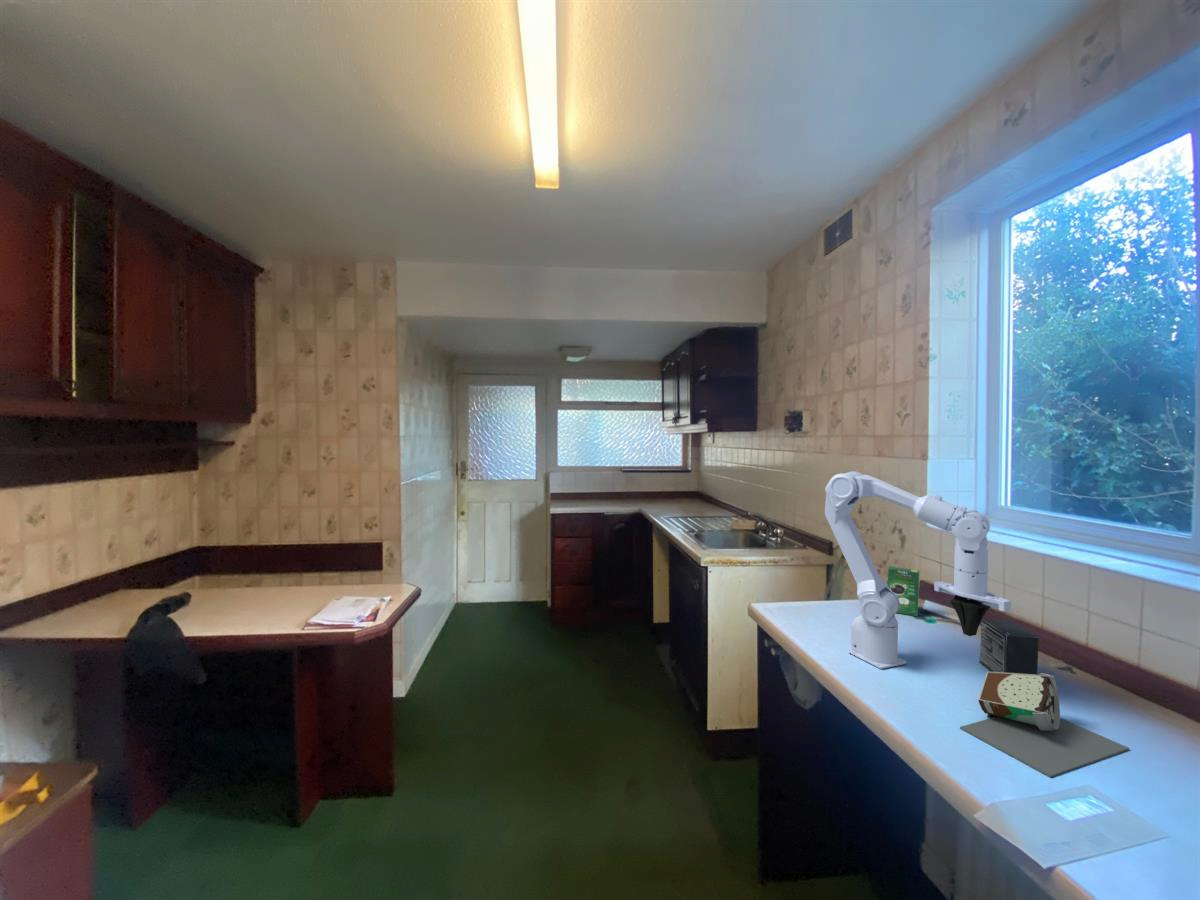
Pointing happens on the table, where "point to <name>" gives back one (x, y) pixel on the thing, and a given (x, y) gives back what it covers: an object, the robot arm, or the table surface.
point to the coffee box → (905, 588)
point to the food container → (1022, 698)
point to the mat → (1045, 744)
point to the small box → (1008, 647)
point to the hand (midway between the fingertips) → (969, 634)
